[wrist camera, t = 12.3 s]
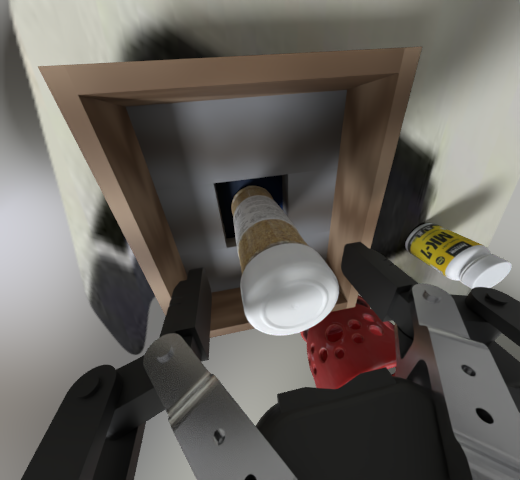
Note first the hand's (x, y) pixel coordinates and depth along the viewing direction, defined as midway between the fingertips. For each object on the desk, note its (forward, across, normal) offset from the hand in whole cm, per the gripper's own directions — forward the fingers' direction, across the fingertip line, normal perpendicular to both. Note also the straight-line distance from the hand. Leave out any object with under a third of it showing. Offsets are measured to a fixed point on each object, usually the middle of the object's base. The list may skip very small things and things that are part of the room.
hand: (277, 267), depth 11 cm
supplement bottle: (+11, -23, +8) cm, 27 cm away
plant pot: (+11, -11, +20) cm, 25 cm away
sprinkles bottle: (+11, 0, 0) cm, 11 cm away
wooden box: (+11, 0, 0) cm, 11 cm away
